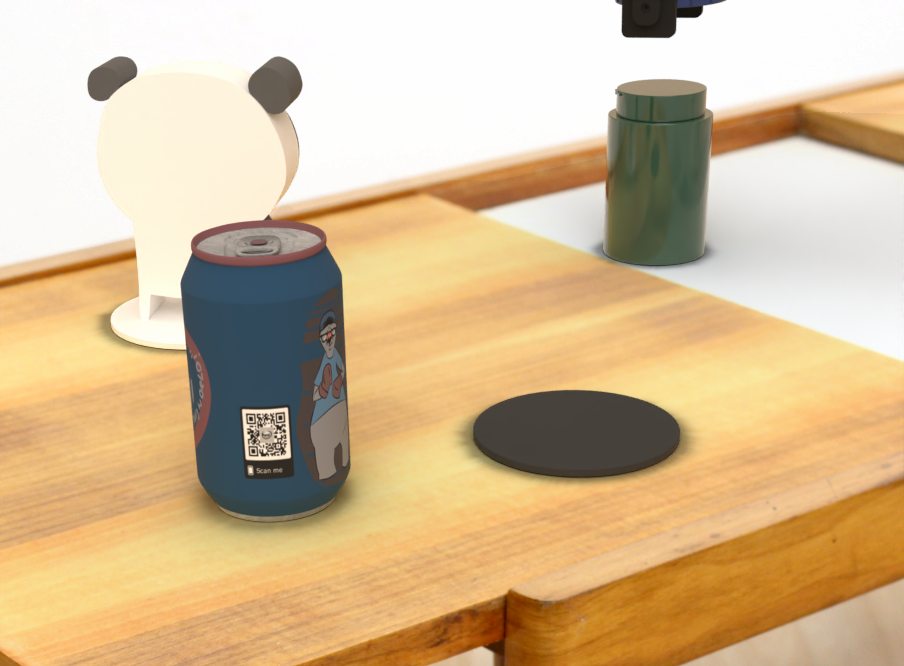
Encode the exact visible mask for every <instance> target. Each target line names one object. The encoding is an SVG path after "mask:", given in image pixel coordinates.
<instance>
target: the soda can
mask: <svg viewBox="0 0 904 666" xmlns="http://www.w3.org/2000/svg"><path fill="white" fill-rule="evenodd" d="M327 241H328V239H327V234H326V232H325V231H324V230H323V229H322V228H320V227H318V226H316V225H312V224H310V223H305V222H301V221H293V220H284V219H272V220H256V221H245V222H237V223H231V224H226V225H221V226H217V227H214V228H210V229H207V230H205V231H202V232H200V233H198V234H197V235H195V236H194V237H193V239H192V241H191V250H192V254H191V256H190V259H189V261H188V264H187V266H186V268H185V271H184V273H183V276H182V279H181V283H180V286H181V297H182V308H183V319H184V330H185V342H186V350H185V351H186V362H187V375H188V383H189V396H190V406H191V407H190V409H191V417H192V430H193V439H194V440H193V441H194V448H195V449H194V451H195V452H194V453H195V462H196V472H197V473H196V474H197V478H198V480H199V483H200V484H201V486H202V488H203V489H204V491H205V492H206V493H207V494H208V496H209V497H210V498H211V500H212V501H213V503H215V505H216V506H217V507H218V508H219V510H221V511H222V512H224V513H225V514H228V515H229V516H231V517H234V518H237V519H240V520H246V521H250V522H252V521H253V522H262V523H264V522H265V523H268V522H270V523H273V522H274V523H275V522H286V521H292V520H297V519H301V518H306V517H309V516H312V515H314V514H317V513H319V512H321V511H323V510H324V509H325V508H327V507H329V506H330V505H331V504H332V503H333V502H334V501H335V499H336V497H337V496H338V494H339V492H340V490H341V489H342V487H343V485H344V484H345V482H346V480H347V478H348V476H349V474H350V470H351V466H352V464H351V444H350V422H349V399H348V378H347V374H348V373H347V353H346V332H345V310H344V291H343V289H344V288H343V286H344V285H343V274H342V271H341V268H340V267H339V265H338V263H337V261H336V260H335V258H334V256H333V254H332V253H331V251H330V249H329V247H328V246H327Z"/></svg>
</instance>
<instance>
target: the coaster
mask: <svg viewBox="0 0 904 666" xmlns="http://www.w3.org/2000/svg"><path fill="white" fill-rule="evenodd" d="M472 429H473V432H472V435H473V441H474V443H475V445H476V447H477V448H478V449H479V450H480V451H481V452H482V453H483V454H485V455H486V456H488V457H489V458H490V459H492V460H495V461H496V462H498V463H499V464H503V465H505V466H507V467H510V468H513V469H517V470H521V471H525V472H528V473H533V474H540V475H545V476H555V477H567V478H569V477H571V478H593V477H606V476H614V475H621V474H626V473H631V472H635V471H639V470H642V469H645V468H649V467H651V466H653V465H656V464H658V463H660V462H662V461H663V460H665V459H667V458H668V457H669V456H671V455H672V454H673V453H674V452H675V451H676V449H677V448H678V446H679V443H680V440H681V428H680V425H679V423H678V421H677V419H676V418H675V417H674V416H673V415H672V414H670V412H668V411H667V410H665V409H664V408H662V407H660V406H658V405H656V404H654V403H651V402H649V401H647V400H645V399H644V400H643V399H640V398H638V397H634V396H630V395H626V394H620V393H615V392H608V391H602V390H588V389H587V390H586V389H557V390H546V391H539V392H537V391H536V392H532V393H526V394H522V395H517V396H513V397H509V398H507V399H504V400H501V401H499V402H497V403H495V404H493V405H491V406H489V407H487V408H486V409H485V410H483V411H482V412H480V414H479V415H478V416H477V417H476V419H475V421H474V423H473V428H472Z"/></svg>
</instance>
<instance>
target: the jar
mask: <svg viewBox="0 0 904 666" xmlns="http://www.w3.org/2000/svg"><path fill="white" fill-rule="evenodd" d="M614 94H615V95H616V100H615V101H616V102H615V104H616V105H615V108H613V109H611V110H609V111H608V113H607V129H606V130H607V131H606V133H607V134H606V157H605V158H606V163H605V187H604V189H605V191H604V214H603V218H604V219H603V242H602V243H603V246H602V247H603V248H602V251H603V253H604V254H605V255H606V256H607V257H609V258H610V259H613V260H615V261H619V262H621V263H626V264H631V265H641V266H671V265H679V264H686V263H689V262H692V261H695V260H697V259H700V258H701V257H702V256H703V255H704V253H705V249H706V247H705V246H706V234H707V220H708V219H707V218H708V204H709V185H710V173H711V158H712V142H713V141H712V140H713V128H714V127H713V126H714V125H713V124H714V112H713V110H711V109H709V108H706V107H707V96H708V95H707V94H708V87H707V85H705V84H703V83H702V82H698V81H693V80H686V79H678V78H677V79H675V78H674V79H673V78H653V79H652V78H651V79H650V78H649V79H639V80H633V81H628V82H627V81H626V82H624V83H621V84H619V85H617V87H616V88H614Z"/></svg>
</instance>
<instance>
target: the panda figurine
mask: <svg viewBox="0 0 904 666" xmlns="http://www.w3.org/2000/svg"><path fill="white" fill-rule="evenodd" d="M86 86H87V92H88V95H89V97H90V98H91V99H92V100H93V101H96V102H105V101H106V103H105V105H104V108H103V109H102V110H103V111H102V114H101V117H100V121H99V125H98V132H97V137H96V138H97V139H96V164H97V169H98V174H99V177H100V180H101V183H102V186H103V188H104V190H105V191H106V193H107V195H108V197H109V198H110V200H111V201H112V203H113V205H114V206H115V207H116V208H117V209H118V210H119V212H121V214H123V215H124V216H125V217H126V218H128V219H129V220H131V222H132V227H133V236H134V246H135V255H136V265H137V277H138V278H137V279H138V296H136V297H134V298H132V299H129V300H127V301H126V302H123V303H122V304H120V305H119V306H118V307H117V308H115V310H114V311H113V312H112V314H111V315H110V325H111V330H112V331H113V332H114V334H115V335H116V336H118V337H120V338H121V339H123V340H125V341H127V342H130V343H132V344H136V345H140V346H145V347H149V348H155V349H156V348H157V349H165V350H183V351H184V350H185V351H186V342H185V330H184V319H183V308H182V297H181V286H180V283H181V279H182V276H183V273H184V271H185V268H186V266H187V264H188V261H189V259H190V256H191V254H192V250H191V241H192V239H193V237H194V236H195V235H197V234H198V233H200V232H202V231H205V230H207V229H210V228H214V227H217V226H221V225H226V224H231V223H237V222H245V221H256V220H273V218H272V217H271V216H270V213H271V212H272V211H273V210H274V208H276V206H277V205H278V203H279V202H280V201H281V200H282V199H283V197H284V196H285V195H286V193H287V192H288V191H289V189H290V187H291V186H292V184H293V181H294V180H295V177H296V174H297V172H298V170H299V163H300V142H299V137H298V134H297V129H296V127H295V125H294V122H293V120H292V118H291V116H290V115H289V113H288V112H287V109H288V108H289V107H290V106H291V105H292V104H293V103H294V101H296V100H297V99H298V98H299V96H300V94H301V93H302V91H303V86H304V85H303V79H302V75H301V73H300V70H299V68H298V67H297V65H296V64H295V63H294V62H293V61H291V60H290V59H288V58H286V57H283V56H279V55H277V56H273V57H271V58H270V59H268V60H267V61H266V62H265V63H264V64H263V65H261V66H259V68H258V69H256V70H255V71H254V72H253V73H252V72H250V71H249V70H247V69H245V68H242V67H240V66H237V65H234V64H230V63H225V62H220V61H213V60H202V59H201V60H200V59H199V60H198V59H197V60H196V59H194V60H181V61H179V60H178V61H172V62H167V63H161V64H158V65H155V66H152V67H150V68H148V69H146V70H144V71H143V72H142V73H140V74H139V75H138V66H137V64H136V62H135V61H134V60H133V59H132V58H131V57H128V56H115V57H113V58H110V59H108V60H106V61H105V62H104V63H102V64H100V65H99V66H97V67H95V68H93V69H92V70H91V71H90V72H89V74H88V77H87V85H86Z"/></svg>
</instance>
